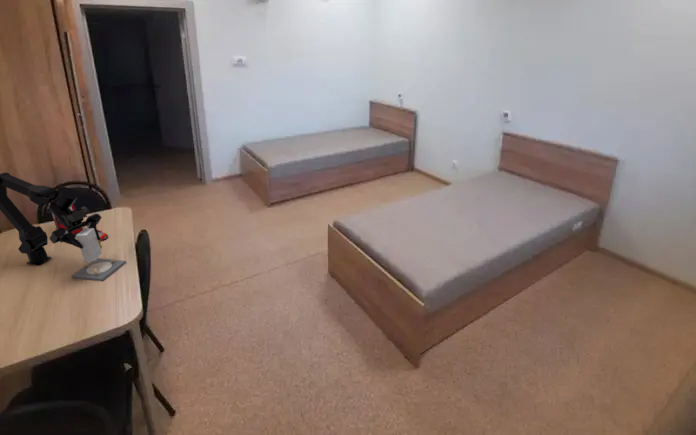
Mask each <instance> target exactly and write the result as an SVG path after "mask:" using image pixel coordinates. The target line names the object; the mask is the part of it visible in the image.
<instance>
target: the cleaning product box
mask: <svg viewBox="0 0 696 435" xmlns="http://www.w3.org/2000/svg"><path fill="white" fill-rule="evenodd" d="M58 189H59V188H56V189H55V190H58ZM52 202H54V201H52ZM52 202H50V203H48V205H50V204H51V203H52ZM48 205H47V206H48ZM69 208H70V209H71V210H72V211H73V210H74V211H76V212H78V210H77V207H76V203H75V202H74V203H73V204H72V206H71V207H69ZM50 214H51V217H52V219H53V222H54V225H55V229H56V230H57V229H60V228H64V229H66V228H65V227H64V225H63V224H62V223H61V224H59V223H58V221H59V220H58V219H57V218H56V217H55V216H54V214H53V213H52V212H50ZM80 226H81V225H80ZM83 229H84V227H82V228H80V229H78V230H76V231H73V232H72V234H73V236H74V237H75V238H76V235H77V234H78V233H79V232H80V231H82V230H83Z"/></svg>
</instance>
